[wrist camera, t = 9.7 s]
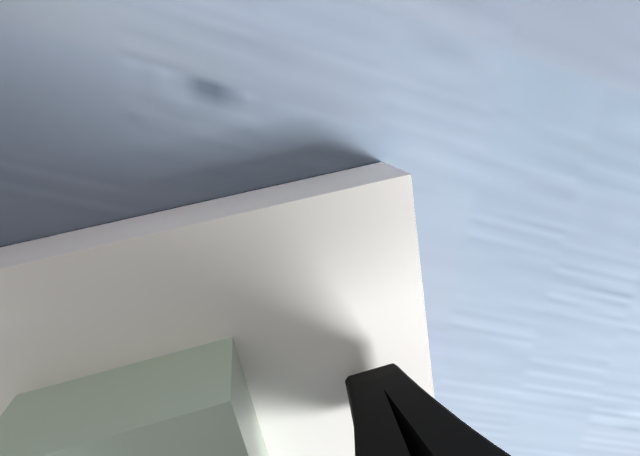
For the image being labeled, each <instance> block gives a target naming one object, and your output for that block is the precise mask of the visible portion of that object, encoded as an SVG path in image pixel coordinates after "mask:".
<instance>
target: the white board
mask: <svg viewBox="0 0 640 456" xmlns="http://www.w3.org/2000/svg"><path fill="white" fill-rule="evenodd" d="M230 337H233V340H234V343H235V347H236V350H237V353H238V356H239V360H240V363H241V366H242V369H243V373H244V376H245V379H246V382H247V386H248V389H249V392H250V395H251V398H252V402H253V405H254V408H255V411H256V415H257V418H258V421H259V424H260V428H261V431H262V434H263V437H264V441H265V444H266V447H267V450H268V454H269V456H355V441H354V425H353V420H352V415H351V410H350V405H349V400H348V394H347V389H346V384H345V380H346V379H347V377H348V376H350V375H354V374H357V373H361V372H364V371H368V370H371V369H374V368H378V367H381V366H385V365H388V364H392V363H394V364H395V365H397V366H398V367H399V368H400V369H401V370H403V371H404V372H405V373H406V374H407V375H408V376H409V377H410V378H411V379H412V380H413V381H414V382H416V383H417V384H418V385H419V386H420V387H421V388H422V389H423V390H425V391H426V392H427V393H428V394H429V395H430V396H432V397H433V398H434V390H433V381H432V371H431V362H430V352H429V343H428V333H427V324H426V314H425V304H424V295H423V285H422V276H421V266H420V257H419V247H418V238H417V228H416V218H415V209H414V199H413V190H412V180H411V174H409V173H407V172H405V171H402V170H400V169H398V168H395V167H393V166H391V165H388V164H386V163H384V162H379V163H374V164H370V165H365V166H361V167H356V168H352V169H347V170H343V171H339V172H334V173H330V174H325V175H321V176H316V177H312V178H307V179H303V180H298V181H294V182H290V183H285V184H281V185H276V186H272V187H267V188H263V189H258V190H254V191H249V192H245V193H240V194H236V195H232V196H227V197H223V198H218V199H214V200H209V201H205V202H200V203H196V204H191V205H187V206H183V207H178V208H174V209H169V210H165V211H160V212H156V213H151V214H147V215H142V216H138V217H133V218H129V219H125V220H120V221H116V222H111V223H107V224H102V225H98V226H93V227H89V228H84V229H80V230H76V231H71V232H67V233H62V234H58V235H53V236H49V237H44V238H40V239H35V240H31V241H26V242H22V243H18V244H13V245H9V246H4V247H0V416H1V415H2V413H3V412H4V411H5V409H6V408H7V407H8V405H9V404H10V403H11V401H12V400H13V399H14V398H15V396H16V395H18V394H22V393H25V392H29V391H33V390H36V389H40V388H44V387H48V386H51V385H55V384H59V383H62V382H66V381H70V380H74V379H77V378H81V377H85V376H88V375H92V374H96V373H100V372H103V371H107V370H111V369H114V368H118V367H122V366H126V365H129V364H133V363H137V362H141V361H144V360H148V359H152V358H155V357H159V356H163V355H167V354H170V353H174V352H178V351H181V350H185V349H189V348H193V347H196V346H200V345H204V344H207V343H211V342H215V341H219V340H222V339H226V338H230Z"/></svg>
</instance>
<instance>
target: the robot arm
mask: <svg viewBox="0 0 640 456" xmlns="http://www.w3.org/2000/svg"><path fill="white" fill-rule="evenodd" d="M345 384H346V389H347V394H348V400H349V405H350V410H351V415H352V420H353V425H354V441H355V456H511V455H509V454H508V453H506V452H505V451H503V450H502V449H500V448H499V447H497V446H496V445H494V444H493V443H492V442H490V441H489V440H487V439H486V438H485V437H483V436H482V435H480V434H479V433H478V432H476V431H475V430H473V429H472V428H471V427H469V426H468V425H467V424H465V423H464V422H463V421H461V420H460V419H459V418H458V417H456V416H455V415H454V414H453V413H451V412H450V411H449V410H448V409H446V408H445V407H444V406H443V405H441V404H440V403H439V402H438V401H436V400H435V399H434V398H433V397H432V396H430V395H429V394H428V393H427V392H426V391H425V390H423V389H422V388H421V387H420V386H419V385H418V384H417V383H416V382H414V381H413V380H412V379H411V378H410V377H409V376H408V375H407V374H406V373H405V372H404V371H403V370H401V369H400V368H399V367H398V366H397V365H395V364H394V363H392V364H388V365H385V366H381V367H378V368H374V369H371V370H368V371H364V372H361V373H357V374H354V375H350V376H348V377H347V379H346V380H345Z"/></svg>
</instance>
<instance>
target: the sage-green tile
mask: <svg viewBox="0 0 640 456" xmlns="http://www.w3.org/2000/svg"><path fill="white" fill-rule="evenodd" d="M0 456H269V454H268V450H267V447H266V444H265V441H264V437H263V434H262V431H261V428H260V424H259V421H258V418H257V415H256V411H255V408H254V405H253V402H252V398H251V395H250V392H249V389H248V386H247V382H246V379H245V376H244V373H243V369H242V366H241V363H240V360H239V356H238V353H237V350H236V347H235V343H234V340H233V337H230V338H226V339H222V340H219V341H215V342H211V343H207V344H204V345H200V346H196V347H193V348H189V349H185V350H181V351H178V352H174V353H170V354H167V355H163V356H159V357H155V358H152V359H148V360H144V361H141V362H137V363H133V364H129V365H126V366H122V367H118V368H114V369H111V370H107V371H103V372H100V373H96V374H92V375H88V376H85V377H81V378H77V379H74V380H70V381H66V382H62V383H59V384H55V385H51V386H48V387H44V388H40V389H36V390H33V391H29V392H25V393H22V394H18V395H16V396H15V398H14V399H13V400H12V401H11V403H10V404H9V405H8V407H7V408H6V409H5V411H4V412H3V413H2V415H1V416H0Z"/></svg>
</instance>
